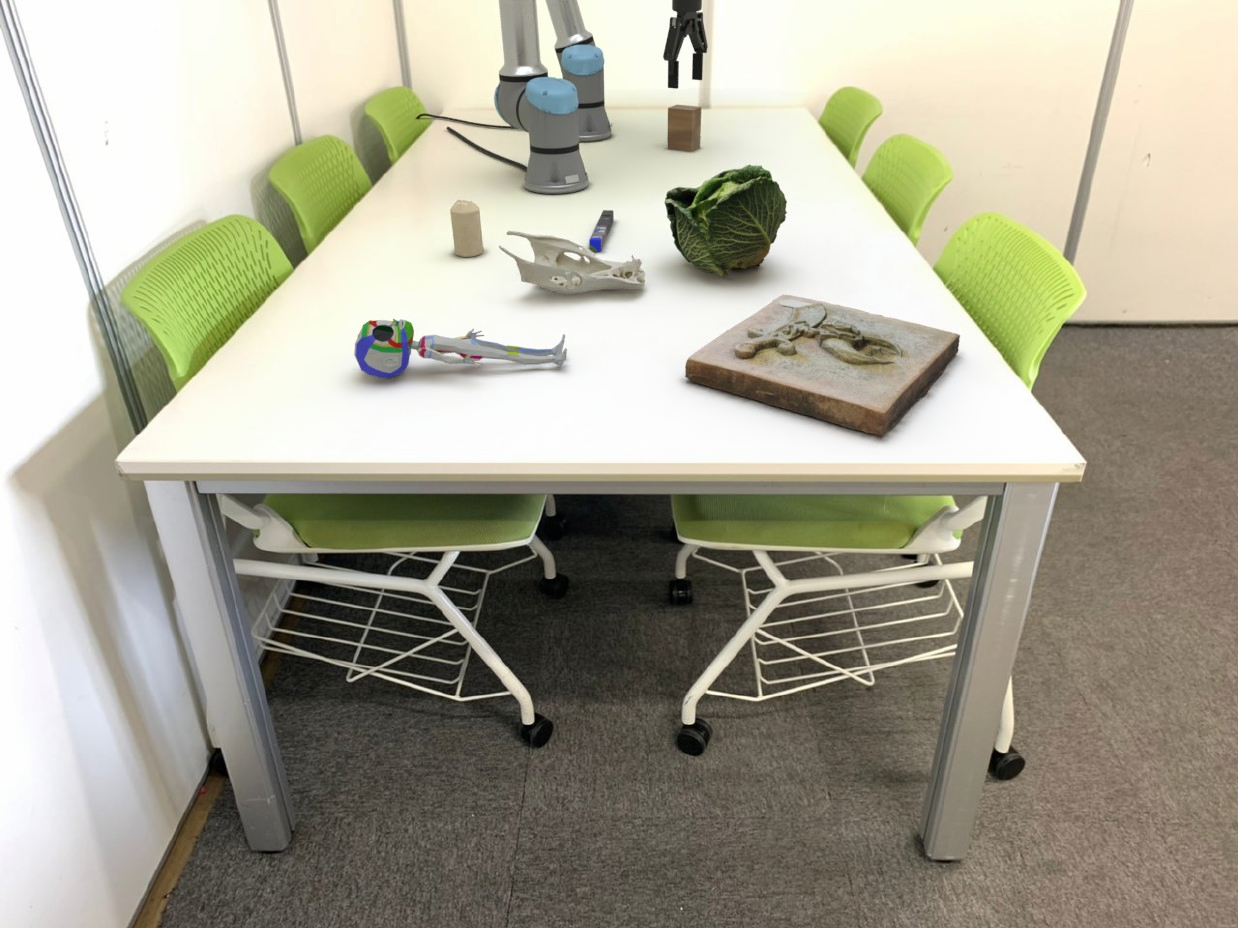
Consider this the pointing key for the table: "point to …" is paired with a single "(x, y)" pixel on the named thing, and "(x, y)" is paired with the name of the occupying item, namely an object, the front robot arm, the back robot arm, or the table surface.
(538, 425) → the table surface
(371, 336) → the toy
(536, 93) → the front robot arm
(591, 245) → the blue capped marker
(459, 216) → the candle
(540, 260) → the anatomical model
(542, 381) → the table surface
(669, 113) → the block
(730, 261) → the vegetable
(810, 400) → the plaque
